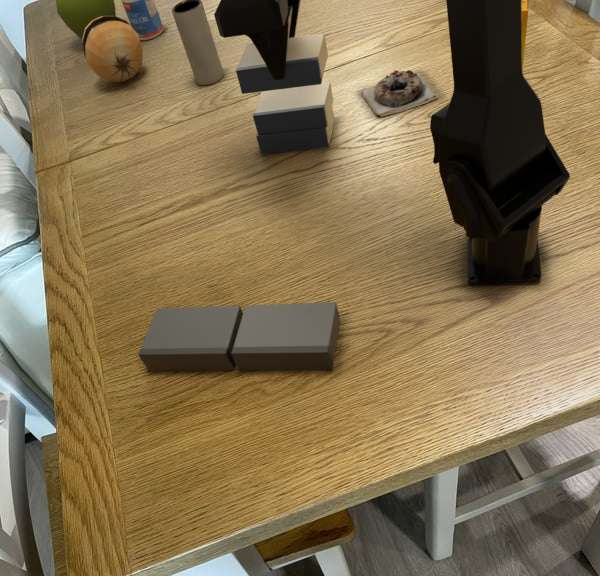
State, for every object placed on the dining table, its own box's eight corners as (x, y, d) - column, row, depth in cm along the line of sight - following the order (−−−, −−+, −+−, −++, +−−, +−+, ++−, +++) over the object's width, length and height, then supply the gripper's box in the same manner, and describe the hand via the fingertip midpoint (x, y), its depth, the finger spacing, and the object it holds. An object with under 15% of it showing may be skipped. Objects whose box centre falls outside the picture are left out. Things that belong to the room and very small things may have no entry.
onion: (91, 51, 87) (59, -2, 93) (106, 108, 96) (76, 56, 101) (150, 36, 90) (115, -15, 96) (160, 92, 98) (127, 42, 104)
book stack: (330, 147, 74) (323, 108, 70) (261, 154, 77) (250, 117, 73) (336, 119, 78) (330, 80, 74) (270, 127, 80) (260, 90, 76)
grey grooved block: (332, 370, 53) (327, 352, 51) (148, 371, 58) (137, 354, 56) (340, 320, 57) (336, 301, 55) (166, 325, 61) (156, 307, 59)
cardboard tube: (198, 89, 91) (173, 16, 83) (194, 76, 94) (169, 5, 86) (226, 79, 91) (203, 5, 83) (221, 67, 94) (198, -5, 86)
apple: (97, 24, 116) (71, -35, 109) (138, 23, 112) (114, -38, 104) (64, 52, 112) (34, -7, 104) (105, 52, 107) (77, -9, 99)
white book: (321, 84, 63) (317, 59, 61) (242, 94, 65) (235, 70, 63) (328, 56, 66) (324, 32, 64) (252, 66, 69) (246, 43, 67)
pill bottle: (131, 42, 107) (106, -19, 100) (143, 28, 110) (120, -33, 102) (157, 40, 106) (133, -23, 98) (169, 25, 108) (147, -37, 101)
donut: (376, 119, 76) (374, 103, 74) (360, 91, 80) (358, 76, 79) (439, 99, 75) (439, 83, 74) (419, 73, 80) (419, 57, 78)
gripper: (188, -132, 60) (232, 33, 72) (132, -58, 49) (195, 119, 62) (295, -156, 57) (322, 19, 69) (259, -83, 47) (298, 107, 59)
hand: (284, 63), depth 65 cm, fingers closed on white book, 6 cm apart
